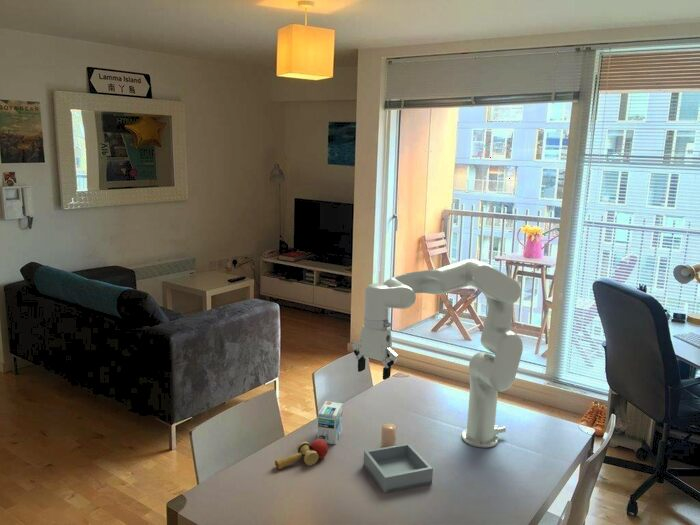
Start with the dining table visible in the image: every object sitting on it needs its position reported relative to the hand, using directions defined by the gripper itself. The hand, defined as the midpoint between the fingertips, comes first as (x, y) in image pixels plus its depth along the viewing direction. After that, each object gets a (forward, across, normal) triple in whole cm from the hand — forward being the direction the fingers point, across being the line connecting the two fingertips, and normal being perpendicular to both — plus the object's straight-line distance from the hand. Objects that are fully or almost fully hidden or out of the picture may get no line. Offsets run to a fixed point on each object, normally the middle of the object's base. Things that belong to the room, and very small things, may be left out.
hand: (373, 374), depth 182 cm
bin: (+29, -12, +3) cm, 31 cm away
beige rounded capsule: (+29, -2, -8) cm, 30 cm away
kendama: (+29, +15, +17) cm, 37 cm away
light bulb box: (+29, +19, -2) cm, 34 cm away
